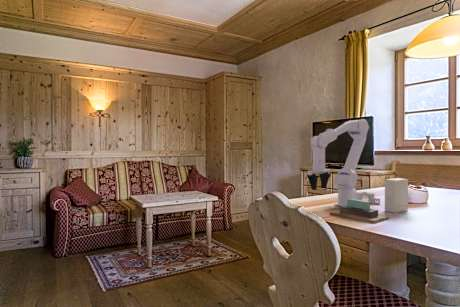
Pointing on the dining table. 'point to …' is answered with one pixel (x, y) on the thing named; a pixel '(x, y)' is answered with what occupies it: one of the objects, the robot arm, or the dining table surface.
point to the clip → (358, 204)
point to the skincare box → (396, 195)
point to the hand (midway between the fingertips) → (318, 189)
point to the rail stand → (359, 214)
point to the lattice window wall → (369, 196)
